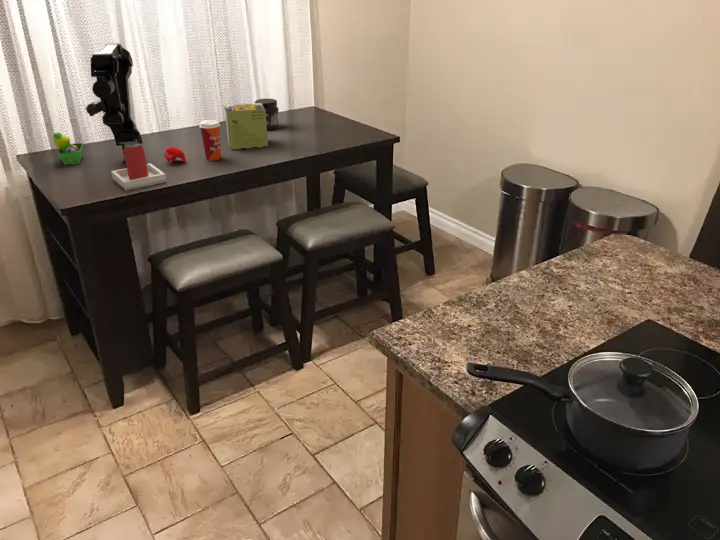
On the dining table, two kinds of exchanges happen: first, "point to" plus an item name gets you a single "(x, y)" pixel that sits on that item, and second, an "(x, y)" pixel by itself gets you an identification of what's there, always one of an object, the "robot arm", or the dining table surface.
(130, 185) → the tray
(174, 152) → the cap
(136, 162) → the beer can
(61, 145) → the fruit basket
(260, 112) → the protein box
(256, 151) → the dining table surface
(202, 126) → the paper cup
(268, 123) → the supplement container
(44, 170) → the dining table surface
